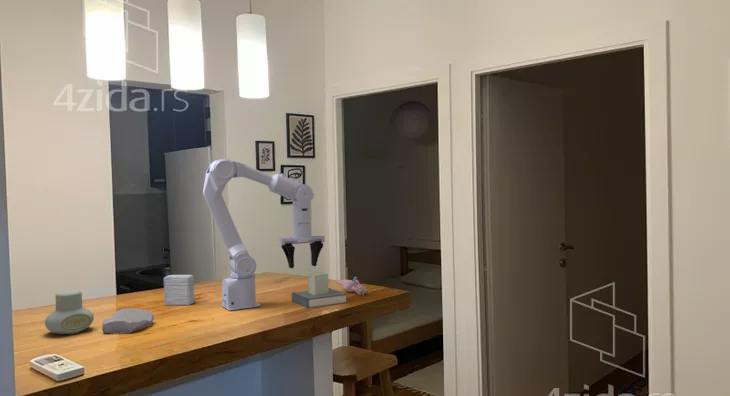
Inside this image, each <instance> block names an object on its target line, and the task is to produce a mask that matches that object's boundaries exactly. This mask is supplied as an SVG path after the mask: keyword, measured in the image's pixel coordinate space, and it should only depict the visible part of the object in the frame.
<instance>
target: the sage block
mask: <svg viewBox="0 0 730 396" xmlns="http://www.w3.org/2000/svg"><path fill="white" fill-rule="evenodd" d="M307 286H308V290H307V291H308V292H309V293H310V294H313V295H321V294H328V288H329V274H328V273H327V272H323V271H319V272H318V271H316V272H307Z"/></svg>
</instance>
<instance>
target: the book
mask: <svg viewBox="0 0 730 396" xmlns="http://www.w3.org/2000/svg"><path fill="white" fill-rule="evenodd" d="M291 302H292V303H295V305H296V304H297V305H299V306H301V307H303V308H306V309H312V308H320V307H326V306H332V305H339V304H340V303H341V304H345V303H347V293H345V292H342V291H339V290H337V289H333V288H330V287H328V294H321V295H313V294H310V293H309V292H308V290H301V291H296V292H295V291H294V292H291Z"/></svg>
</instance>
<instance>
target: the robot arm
mask: <svg viewBox="0 0 730 396" xmlns="http://www.w3.org/2000/svg"><path fill="white" fill-rule="evenodd" d="M232 178H233V179H235V178H245V179H248V180H251V181H253V182H256V183H259V184H261V185H264V186H267V187H268V189H269V191H270V192H271V193H274V194H275V195H278V196H281V197H284V198H286V199H290V200H291V201H292V236H291V237H281V238H279V239H278V240H279V241H278V242H279V246H281V249H282V251H283V252H284V255H285V257H286V260H287V264H288V268H289V269H294V268H295V261H294V259H295V249H296V247H295V246H294V245H298V244H299V245H300V244H309V247H310V248H309V249H310V260H311V261H310V262H311V266H312V267H317V264H318V259H319V255H320V254H321V252H322V249H323V248H324V243H325V242H326V238H325V237H326V236H325V235H313V234H312V200H313V199H314V196H315V193H314V191H313V188H311V187H310V186H309V185H308V184H305V183H304V184H302V183H300V181H299V180H298V179H296V180H294V179H291V178H289V177H286V174H284V173H280V174H279V173H276V174H273V175H270V174H268V173H266V172H264V171H260V170H258V169H256V168H254V167H252V166H249V165H247V164H245V163H242V162H239V161H235V160H233V161H232V160H230V159H228V158H220V159H216V160H213V161H212V162H210V164H209V166H208V167H207V169H206V171H205V178H204V184H203V188H202V194H203V198H204V201H205V202H206V204H207V207H208V209H209V212H210V214H211V216H212V218H213V220H214V222H215V225H216V226H217V229H218V232H219V235H220V237H221V239H222V242H223V243H224V246H225V248H226V252H227V256H228V259H229V260H228V265H229V268H230V270H231V273H230V274H229V276H230V277H226V278H224V279H222V280H221V302H222V303H221V306H222V307H224V309H226V310H228V311H237V310H245V309H250V308H251V309H252V308H259V307H261V305H262V304H260V303H257V300H256V299H257V298H256V297H257V295H256V274H255V272H256V269H257V262H256V260H255V259H254V257H253V256H251V255H250V254H249V252H248V249H247V248H246V247H245V245H244V243H243V241H242V238H241V236H240V234H239V232H238V230H237V227H236V225H235V223H234V220H233V218H232V216H231V213H230V211H229V208H228V207H227V204H226V202H225V200H224V197H223V195H222V193H223V191H224V190H225V187H226V185H227V184H228V183H229V182H230V181H231V180H232Z"/></svg>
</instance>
